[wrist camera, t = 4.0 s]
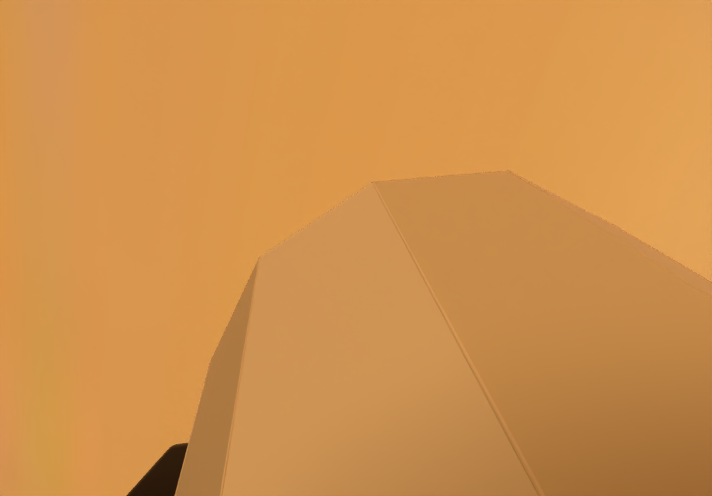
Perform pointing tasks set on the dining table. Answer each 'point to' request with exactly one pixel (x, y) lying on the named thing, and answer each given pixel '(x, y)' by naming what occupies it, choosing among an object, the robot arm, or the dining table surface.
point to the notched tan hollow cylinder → (459, 355)
